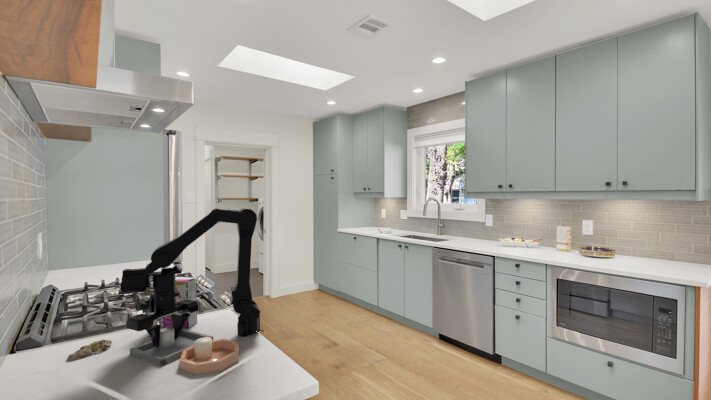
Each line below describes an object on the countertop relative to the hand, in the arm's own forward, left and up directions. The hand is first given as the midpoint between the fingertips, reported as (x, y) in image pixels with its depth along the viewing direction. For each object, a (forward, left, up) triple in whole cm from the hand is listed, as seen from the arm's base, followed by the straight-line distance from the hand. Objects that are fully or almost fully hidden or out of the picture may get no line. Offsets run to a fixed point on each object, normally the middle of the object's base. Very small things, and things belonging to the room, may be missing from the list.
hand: (166, 343), depth 103 cm
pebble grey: (0, 0, -1) cm, 1 cm away
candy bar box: (-12, -11, -2) cm, 17 cm away
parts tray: (0, +3, -1) cm, 3 cm away
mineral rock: (+12, -16, -2) cm, 20 cm away
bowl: (0, +19, -1) cm, 19 cm away
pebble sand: (0, +16, -1) cm, 16 cm away
